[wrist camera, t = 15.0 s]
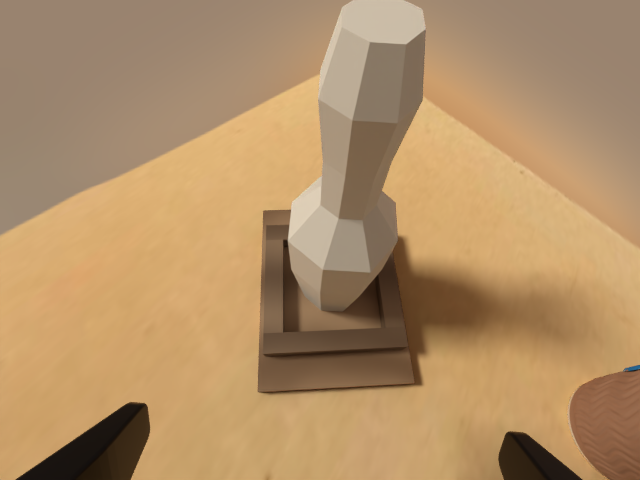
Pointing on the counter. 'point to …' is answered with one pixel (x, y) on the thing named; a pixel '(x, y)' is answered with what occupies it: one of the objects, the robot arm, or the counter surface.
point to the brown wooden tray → (326, 327)
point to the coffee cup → (609, 423)
